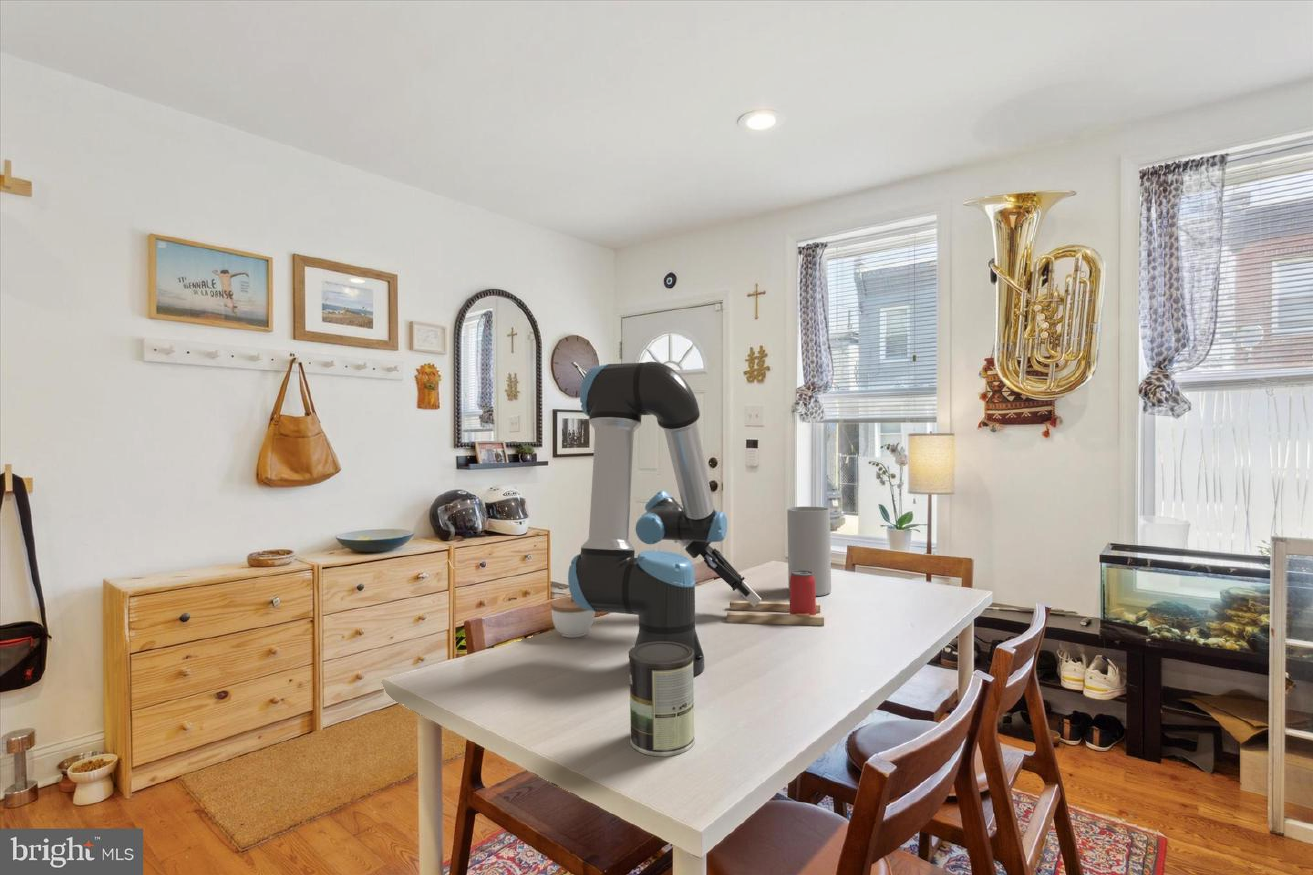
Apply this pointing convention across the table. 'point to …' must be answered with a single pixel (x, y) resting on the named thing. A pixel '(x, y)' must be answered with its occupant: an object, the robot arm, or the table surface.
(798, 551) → the cylinder vase
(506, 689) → the table surface
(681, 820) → the table surface
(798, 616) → the channel
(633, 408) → the robot arm
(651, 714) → the coffee can
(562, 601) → the lidded jar
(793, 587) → the beer can
